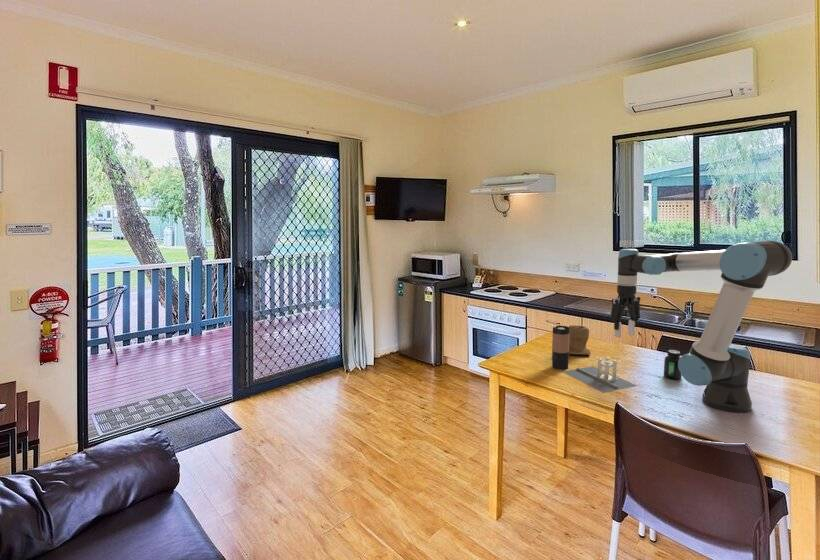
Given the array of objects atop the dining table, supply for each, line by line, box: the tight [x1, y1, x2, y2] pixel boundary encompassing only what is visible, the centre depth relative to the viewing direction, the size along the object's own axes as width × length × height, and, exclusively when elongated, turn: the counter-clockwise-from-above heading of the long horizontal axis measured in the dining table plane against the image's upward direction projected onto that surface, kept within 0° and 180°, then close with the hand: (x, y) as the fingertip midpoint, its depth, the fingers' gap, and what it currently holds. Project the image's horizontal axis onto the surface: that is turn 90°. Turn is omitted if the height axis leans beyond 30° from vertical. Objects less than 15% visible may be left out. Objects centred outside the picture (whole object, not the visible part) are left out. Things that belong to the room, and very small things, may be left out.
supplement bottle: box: [663, 349, 683, 381], centre depth 189 cm, size 7×7×12 cm
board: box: [561, 365, 638, 394], centre depth 190 cm, size 26×18×1 cm
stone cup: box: [568, 324, 592, 356], centre depth 225 cm, size 15×12×15 cm
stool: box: [597, 356, 618, 382], centre depth 189 cm, size 6×6×9 cm
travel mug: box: [551, 325, 570, 371], centre depth 204 cm, size 8×8×20 cm
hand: (624, 335), depth 189 cm, fingers open, 7 cm apart
